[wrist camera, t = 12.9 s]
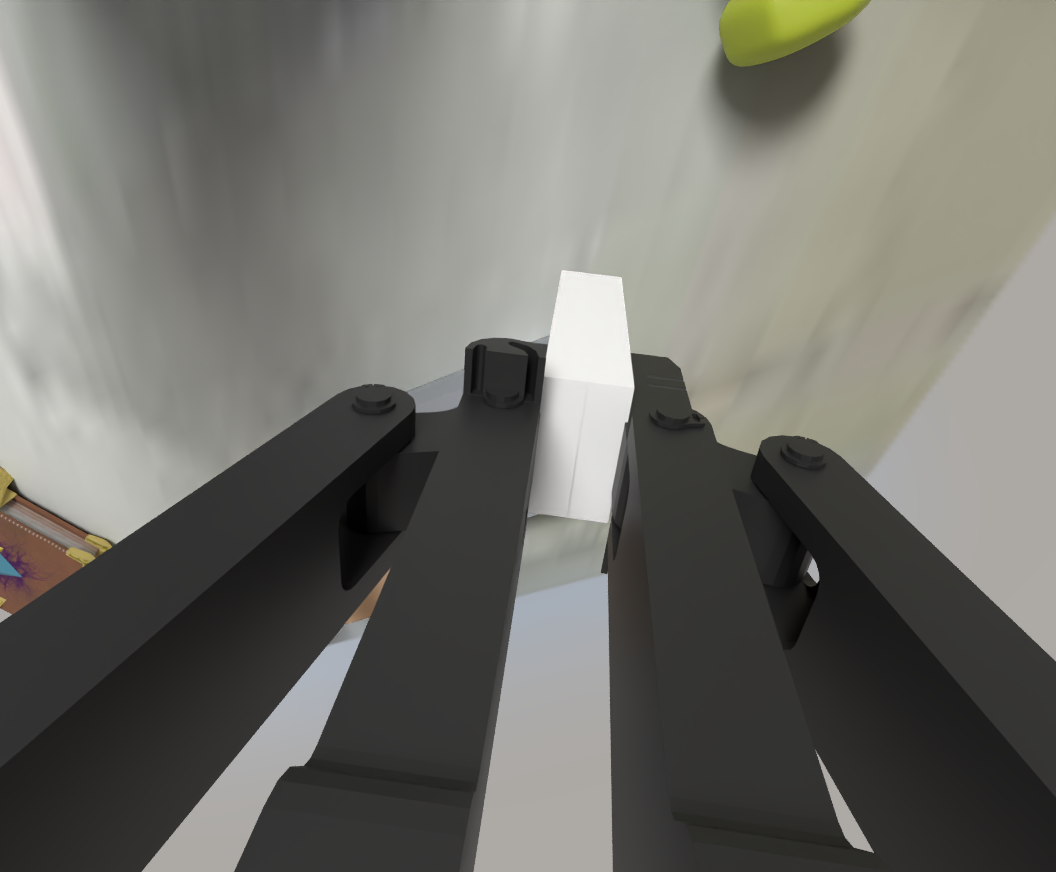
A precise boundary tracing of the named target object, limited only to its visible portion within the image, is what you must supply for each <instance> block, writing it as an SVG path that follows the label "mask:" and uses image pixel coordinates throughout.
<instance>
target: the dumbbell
mask: <svg viewBox="0 0 1056 872" xmlns="http://www.w3.org/2000/svg"><path fill="white" fill-rule="evenodd" d="M870 1H871V0H730V1H729V2H728V4H727V6H726V7H725V9H724V11H723V13H722V16H721V18H720V24H719V31H720V37H721V41H722V45H723V48H724V51H725V55H726V57H727V59H728V61H729V62H730V63H732V64H733V65H736V66H742V67H746V66H753V65H758V64H762V63H765V62H769V61H772V60H776V59H779V58H782V57H785V56H787V55H789V54H792V53H794V52H796V51H799V50H801V49H803V48H805V47H807V46H809V45H811V44H813V43H815V42H817V41H819V40H820V39H822V38H824V37H826V36H828V35H830V34H831V33H833V32H835V31H836V30H838V29H840V28H841V27H843V26H844V25H846V24H847V23H848V22H850V21H851V20H852V19H853V18H854V17H856V16H857V15H858V14H859V13H860V12H861V11H862V10H863V9H864V8H865V7H866V6H867V5H868V3H869V2H870Z"/></svg>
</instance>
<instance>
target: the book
mask: <svg viewBox="0 0 1056 872" xmlns="http://www.w3.org/2000/svg"><path fill="white" fill-rule="evenodd" d="M12 480H13V478H12V477H11V476H10V475H9V474H8V473H7V472H6V471H5V470H4V469H3V468H1V467H0V608H1V609H3V610H5V611H7V612H9V613H11V614H14V613H16V612H17V611H18V610H20V609H21V608H23V607H24V606H26V605H27V604H29V603H30V602H32V601H33V600H35V599H36V598H38V597H39V596H41V595H42V594H44V593H45V592H46V591H48V590H49V589H51V588H52V587H54V586H55V585H57V584H58V583H60V582H61V581H63V580H64V579H66V578H67V577H69V576H70V575H72V574H73V573H75V572H76V571H77V570H79V569H80V568H82V567H83V566H85V565H86V564H88V563H89V562H91V561H92V560H94V559H95V558H97V557H98V556H100V555H101V554H103V553H104V552H106V551H107V550H108V549H110V548H111V547H112V546H111V545H110V544H109V543H108V542H107V541H106V540H104V539H101V538H99V537H96V536H93V535H91V534H89V535H88V534H86V533H85V532H83V531H81V530H79V529H77V528H75V527H74V526H72V525H70V524H68V523H66V522H65V521H63V520H61V519H59V518H57V517H56V516H54V515H52V514H50V513H48V512H47V511H45V510H43V509H41V508H39V507H38V506H36V505H34V504H32V503H30V502H29V501H27V500H25V499H23V498H21V497H20V496H18V495H17V494H16V493H15V492H13V491H11V490H9V489H7V487H8V485H9V484H10V483H11V482H12Z"/></svg>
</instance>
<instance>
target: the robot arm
mask: <svg viewBox="0 0 1056 872" xmlns="http://www.w3.org/2000/svg"><path fill="white" fill-rule="evenodd" d="M611 505H612V519H611V524H610V529H609V534H608V539H607V544H606V549H605V554H604V559H603V564H602V569H601V573H605V574H607V572H608V599H609V600H608V603H609V661H610V662H609V663H610V719H611V720H610V721H611V722H610V723H611V782H612V783H611V784H612V839H613V840H612V843H613V872H1056V661H1055V660H1054V659H1052V658H1051V657H1050V656H1049V655H1048V654H1047V653H1046V652H1045V651H1044V650H1043V649H1042V648H1041V647H1040V646H1039V645H1038V644H1037V643H1036V642H1035V641H1034V640H1032V639H1031V638H1030V637H1029V636H1028V635H1027V634H1026V633H1025V632H1024V631H1023V630H1022V629H1021V628H1020V627H1019V626H1018V625H1017V624H1016V623H1015V622H1013V620H1012V619H1011V618H1009V617H1008V616H1007V615H1006V614H1005V613H1004V612H1003V611H1002V610H1001V609H1000V608H999V607H998V606H997V605H996V604H994V602H993V601H991V600H990V599H989V597H987V596H986V595H985V594H984V593H983V592H982V591H981V590H980V589H979V588H978V587H977V586H976V585H975V584H974V583H973V582H972V581H971V580H969V578H967V577H966V576H965V575H964V574H963V573H962V572H961V571H960V570H959V569H958V568H957V567H956V566H955V565H954V564H953V563H952V562H951V561H950V560H949V559H948V558H946V557H945V556H944V555H943V554H942V553H941V552H940V551H939V550H938V549H937V548H936V547H935V546H934V545H933V544H932V543H931V542H930V541H929V540H928V539H927V538H925V536H924V535H922V534H921V533H920V532H919V531H918V530H917V529H916V528H915V527H914V526H913V525H912V524H911V523H910V522H909V521H908V520H907V519H906V518H905V517H904V516H903V515H901V514H900V513H899V512H898V511H897V510H896V509H895V508H894V507H893V506H892V505H891V504H890V503H889V502H888V501H887V500H886V499H885V498H884V497H883V496H882V495H880V494H879V493H878V492H877V491H876V490H875V489H874V488H873V487H872V486H871V485H870V484H869V483H868V482H867V481H866V480H865V479H864V478H863V477H862V476H861V475H860V474H858V473H857V472H856V471H855V470H854V469H853V468H852V467H851V466H850V465H849V464H848V463H847V462H846V461H845V460H844V459H843V458H842V457H841V456H839V455H838V454H836V453H835V452H834V451H832V450H831V449H829V448H827V447H825V446H823V445H821V444H818V442H817V441H815V440H812V439H809V438H807V439H805V437H800V436H794V437H792V436H783V435H782V436H772V437H768V438H767V439H765V440H763V441H762V442H761V445H760V448H759V451H758V454H757V456H756V455H753V454H749V453H746V452H742V451H739V450H735V449H733V448H730V447H727V446H724V445H722V444H720V443H718V442H717V441H716V438H715V435H714V432H713V429H712V425H711V424H710V422H709V421H708V420H707V418H706V417H704V416H703V415H701V414H700V413H698V412H697V411H695V410H692V408H691V405H690V401H689V397H688V394H687V391H686V387H685V383H684V381H683V376H682V373H681V369H680V368H679V367H678V366H677V365H676V364H675V363H673V362H672V361H671V360H670V359H669V358H666V357H658V356H650V355H643V354H635V353H630V345H629V337H628V328H627V320H626V312H625V303H624V295H623V286H622V278H621V277H614V276H606V275H598V274H589V273H581V272H573V271H565V270H562V272H561V277H560V283H559V288H558V294H557V299H556V305H555V310H554V316H553V321H552V327H551V332H550V337H549V343H548V344H541V343H533V342H525V341H520V340H515V339H508V338H489V339H481V340H478V341H475V342H472V343H470V344H469V345H468V346H467V347H466V348H465V366H464V385H463V395H462V397H461V400H460V402H459V405H458V407H457V408H455V409H450V410H446V411H439V412H422V413H416V405H415V401H414V398H413V397H412V396H410V395H409V394H408V393H407V392H405V391H402V390H399V389H397V388H393V387H387V386H384V385H379V384H374V386H372V384H369V385H362V386H360V387H356V388H351V389H348V390H345V391H343V392H341V393H339V394H337V395H336V396H334V397H333V398H331V399H330V400H328V401H327V402H325V403H324V404H322V405H321V406H319V407H318V408H316V409H315V410H314V411H312V412H311V413H309V414H308V415H306V416H305V417H303V418H302V419H300V420H299V421H297V422H296V423H294V424H293V425H291V426H290V427H288V428H287V429H285V430H284V431H283V432H281V433H280V434H278V435H277V436H275V437H274V438H272V439H271V440H269V441H268V442H266V443H265V444H263V445H262V446H260V447H259V448H257V449H256V450H255V451H253V452H252V453H250V454H249V455H247V456H246V457H244V458H243V459H241V460H240V461H238V462H237V463H235V464H234V465H232V466H231V467H229V468H228V469H226V470H225V471H224V472H222V473H221V474H219V475H218V476H216V477H215V478H213V479H212V480H210V481H209V482H207V483H206V484H204V485H203V486H201V487H200V488H198V489H197V490H195V491H194V492H193V493H191V494H190V495H188V496H187V497H185V498H184V499H182V500H181V501H179V502H178V503H176V504H175V505H173V506H172V507H170V508H169V509H167V510H166V511H165V512H163V513H162V514H160V515H159V516H157V517H156V518H154V519H153V520H151V521H150V522H148V523H147V524H145V525H144V526H142V527H141V528H139V529H138V530H136V531H135V532H134V533H132V534H131V535H129V536H128V537H126V538H125V539H123V540H122V541H120V542H119V543H117V544H116V545H114V546H113V547H111V548H110V549H108V550H107V551H106V552H104V553H103V554H101V555H100V556H98V557H97V558H95V559H94V560H92V561H91V562H89V563H88V564H86V565H85V566H83V567H82V568H80V569H79V570H77V571H76V572H75V573H73V574H72V575H70V576H69V577H67V578H66V579H64V580H63V581H61V582H60V583H58V584H57V585H55V586H54V587H52V588H51V589H49V590H48V591H46V592H45V593H44V594H42V595H41V596H39V597H38V598H36V599H35V600H33V601H32V602H30V603H29V604H27V605H26V606H24V607H23V608H21V609H20V610H18V611H17V612H16V613H14V614H13V615H11V616H10V617H8V618H7V619H5V620H4V621H2V622H1V623H0V872H142V870H143V869H144V868H145V867H146V865H147V864H148V863H149V862H150V861H151V859H152V858H153V857H154V856H155V854H156V853H157V852H158V851H159V850H160V848H161V847H162V846H163V844H164V843H165V842H166V841H167V840H168V839H169V837H170V836H171V835H172V834H173V832H174V831H175V830H176V829H177V827H178V826H179V825H180V824H181V823H182V822H183V820H184V819H185V818H186V817H187V815H188V814H189V813H190V812H191V811H192V809H193V808H194V807H195V806H196V804H197V803H198V802H199V801H200V799H201V798H202V797H203V796H204V795H205V793H206V792H207V791H208V790H209V789H210V787H211V786H212V785H213V784H214V783H215V781H216V780H217V779H218V778H219V776H220V775H221V774H222V773H223V772H224V770H225V769H226V768H227V767H228V765H229V764H230V763H231V762H232V761H233V759H234V758H235V757H236V756H237V754H238V753H239V752H240V751H241V750H242V748H243V747H244V746H245V745H246V744H247V742H248V741H249V740H250V739H251V737H252V736H253V735H254V734H255V732H256V731H257V730H258V729H259V728H260V726H261V725H262V724H263V723H264V721H265V720H266V719H267V718H268V717H269V716H270V714H271V713H272V712H273V711H274V709H275V708H276V707H277V706H278V705H279V703H280V702H281V701H282V700H283V698H284V697H285V696H286V695H287V693H288V692H289V691H290V690H291V689H292V687H293V686H294V685H295V684H296V683H297V681H298V680H299V679H300V678H301V676H302V675H303V674H304V673H305V672H306V670H307V669H308V668H309V667H310V666H311V664H312V663H313V662H314V660H315V659H316V658H317V657H318V656H319V655H320V653H321V652H322V651H323V650H324V649H325V647H326V646H327V645H328V644H329V642H330V641H331V640H332V639H333V638H334V636H335V635H336V634H337V633H338V631H339V630H340V629H341V628H342V627H343V625H344V624H345V623H346V622H347V620H348V619H349V618H350V617H351V616H352V614H353V613H354V612H355V611H356V610H357V608H358V607H359V606H360V605H361V603H362V602H363V601H364V600H365V599H366V597H367V596H368V595H369V594H370V592H371V591H372V590H373V589H374V588H375V586H376V585H377V584H378V583H379V581H380V580H381V579H382V578H383V577H384V575H385V574H386V573H387V572H388V571H389V569H390V571H389V573H388V575H387V578H386V580H385V583H384V585H383V588H382V590H381V592H380V595H379V597H378V600H377V602H376V604H375V607H374V609H373V612H372V614H371V616H370V619H369V621H368V624H367V626H366V628H365V631H364V633H363V636H362V638H361V640H360V643H359V645H358V648H357V650H356V653H355V655H354V657H353V660H352V662H351V664H350V667H349V669H348V672H347V674H346V677H345V679H344V681H343V684H342V686H341V689H340V691H339V693H338V696H337V698H336V701H335V703H334V706H333V708H332V710H331V713H330V715H329V717H328V720H327V722H326V725H325V727H324V730H323V732H322V734H321V737H320V739H319V742H318V744H317V746H316V748H315V750H314V752H313V754H312V756H311V758H310V760H309V761H308V762H307V763H306V764H305V765H304V766H295V767H294V766H293V767H289V769H288V770H287V771H286V772H285V773H284V774H283V775H282V776H281V777H280V779H279V780H278V781H277V783H276V785H275V787H274V789H273V791H272V792H271V794H270V796H269V798H268V800H267V802H266V804H265V805H264V807H263V809H262V812H261V814H260V816H259V818H258V820H257V823H256V825H255V827H254V829H253V831H252V834H251V836H250V838H249V840H248V843H247V845H246V847H245V849H244V851H243V854H242V856H241V858H240V860H239V862H238V864H237V867H236V869H235V871H234V872H473V870H474V864H475V857H476V851H477V844H478V837H479V831H480V825H481V818H482V811H483V805H484V798H485V792H486V785H487V778H488V772H489V766H490V759H491V753H492V747H493V739H494V734H495V727H496V721H497V714H498V708H499V701H500V694H501V688H502V681H503V675H504V668H505V662H506V655H507V649H508V642H509V635H510V629H511V622H512V616H513V610H514V603H515V597H516V590H517V584H518V577H519V571H520V564H521V558H522V551H523V545H524V538H525V531H526V524H527V515H528V512H529V513H536V514H544V515H551V516H559V517H566V518H573V519H581V520H588V521H596V522H603V523H608V520H609V515H610V510H611ZM812 558H814V560H815V562H816V564H817V568H818V571H819V582H818V583H816V582H815V581H814V580H813V579H812V577H811V576H810V575H809V573H808V572H807V570H808V568H809V565H810V563H811V560H812ZM815 750H816V751H817V753H818V755H819V756H820V758H821V760H822V762H823V763H824V765H825V767H826V769H827V770H828V772H829V774H830V776H831V778H832V779H833V781H834V783H835V785H836V786H837V788H838V790H839V792H840V793H841V795H842V797H843V799H844V800H845V802H846V804H847V806H848V807H849V809H850V811H851V813H852V815H853V816H854V818H855V820H856V822H857V823H858V825H859V827H860V829H861V830H862V832H863V834H864V836H865V837H866V839H867V841H868V843H869V844H870V846H871V848H872V850H873V851H874V853H872V852H868V851H864V850H860V849H857V848H853V846H852V845H851V844H850V843H849V842H848V841H847V839H846V838H845V836H844V834H843V832H842V829H841V827H840V825H839V823H838V820H837V817H836V813H835V810H834V807H833V804H832V801H831V798H830V795H829V791H828V788H827V786H826V782H825V779H824V776H823V773H822V770H821V766H820V763H819V760H818V757H817V754H816V751H815Z"/></svg>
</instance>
